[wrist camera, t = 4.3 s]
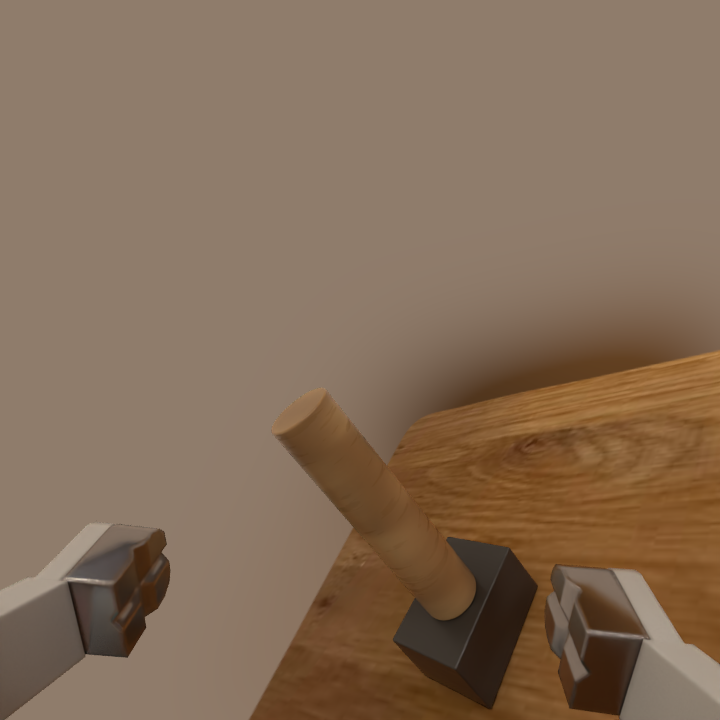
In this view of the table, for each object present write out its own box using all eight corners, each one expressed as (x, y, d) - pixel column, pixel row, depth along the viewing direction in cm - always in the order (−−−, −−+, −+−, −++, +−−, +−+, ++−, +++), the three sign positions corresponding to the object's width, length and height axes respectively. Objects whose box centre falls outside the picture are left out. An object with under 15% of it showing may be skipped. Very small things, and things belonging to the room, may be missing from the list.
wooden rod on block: (475, 570, 26) (316, 370, 22) (538, 585, 23) (367, 355, 19) (424, 675, 23) (227, 463, 19) (491, 710, 20) (271, 464, 16)
